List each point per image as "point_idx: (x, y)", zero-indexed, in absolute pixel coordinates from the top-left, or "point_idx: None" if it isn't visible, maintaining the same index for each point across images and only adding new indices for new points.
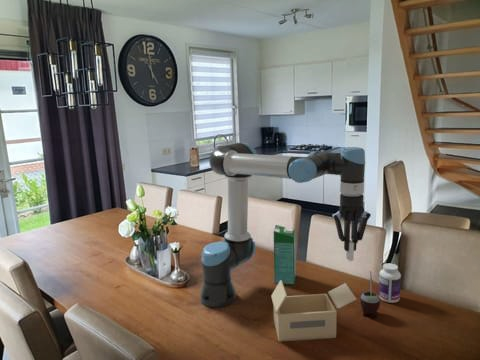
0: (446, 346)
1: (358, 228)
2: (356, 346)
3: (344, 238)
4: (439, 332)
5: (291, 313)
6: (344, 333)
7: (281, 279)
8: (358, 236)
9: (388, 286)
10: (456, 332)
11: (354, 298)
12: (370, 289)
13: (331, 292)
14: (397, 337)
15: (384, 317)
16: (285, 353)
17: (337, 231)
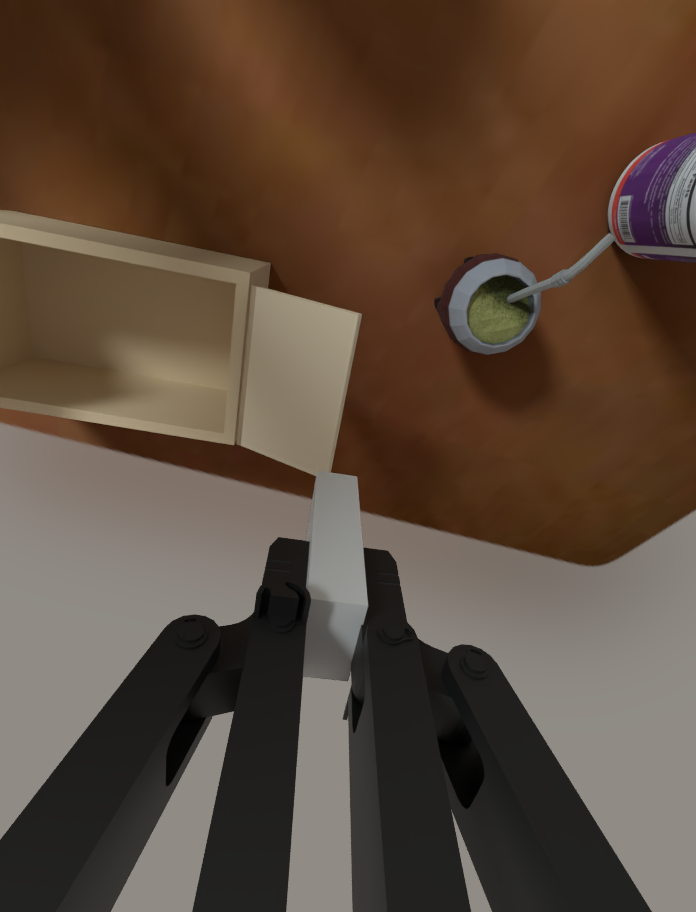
0: (565, 526)
1: (521, 818)
2: None
3: (218, 710)
4: (611, 471)
5: (11, 399)
6: None
7: None
8: (445, 727)
9: (668, 246)
10: (660, 485)
11: None
12: (526, 289)
13: (264, 311)
14: (462, 456)
15: None
16: (49, 425)
17: (80, 742)
